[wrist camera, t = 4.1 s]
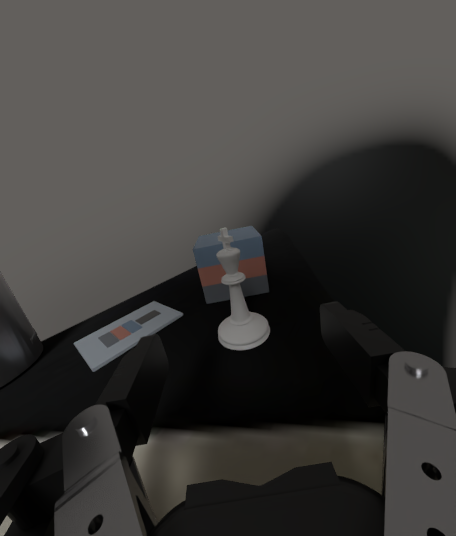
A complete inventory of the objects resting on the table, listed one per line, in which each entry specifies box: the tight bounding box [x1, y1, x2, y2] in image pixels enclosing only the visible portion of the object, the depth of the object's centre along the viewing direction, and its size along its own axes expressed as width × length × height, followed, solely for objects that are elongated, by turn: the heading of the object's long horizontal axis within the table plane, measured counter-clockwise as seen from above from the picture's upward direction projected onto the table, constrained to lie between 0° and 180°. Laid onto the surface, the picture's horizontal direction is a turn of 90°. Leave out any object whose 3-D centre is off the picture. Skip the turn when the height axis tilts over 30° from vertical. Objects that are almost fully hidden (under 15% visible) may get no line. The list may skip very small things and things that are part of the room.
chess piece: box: [216, 228, 270, 350], centre depth 19 cm, size 5×5×10 cm
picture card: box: [74, 301, 183, 372], centre depth 25 cm, size 10×7×1 cm
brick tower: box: [193, 226, 269, 304], centre depth 30 cm, size 8×8×7 cm
